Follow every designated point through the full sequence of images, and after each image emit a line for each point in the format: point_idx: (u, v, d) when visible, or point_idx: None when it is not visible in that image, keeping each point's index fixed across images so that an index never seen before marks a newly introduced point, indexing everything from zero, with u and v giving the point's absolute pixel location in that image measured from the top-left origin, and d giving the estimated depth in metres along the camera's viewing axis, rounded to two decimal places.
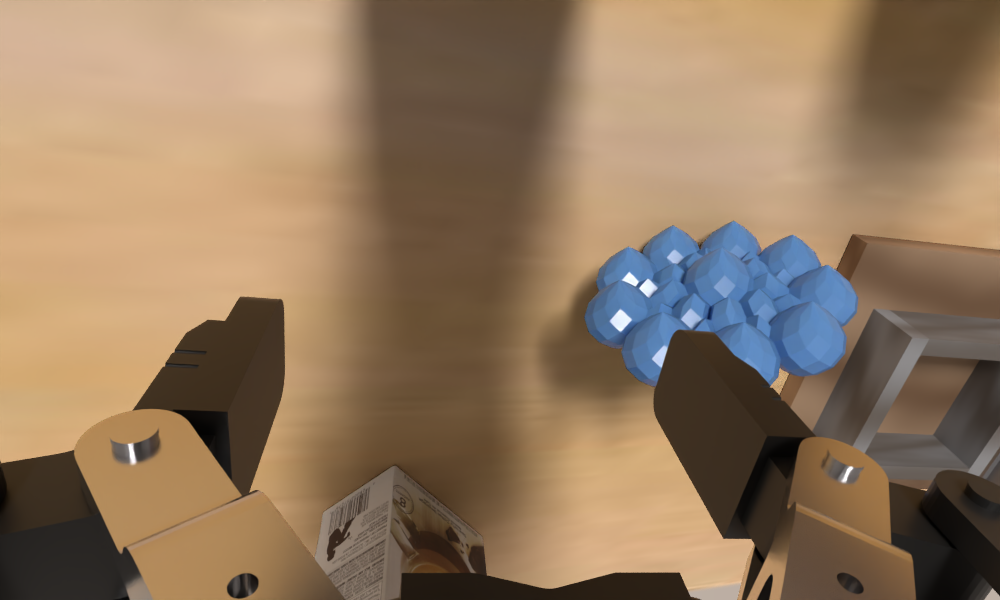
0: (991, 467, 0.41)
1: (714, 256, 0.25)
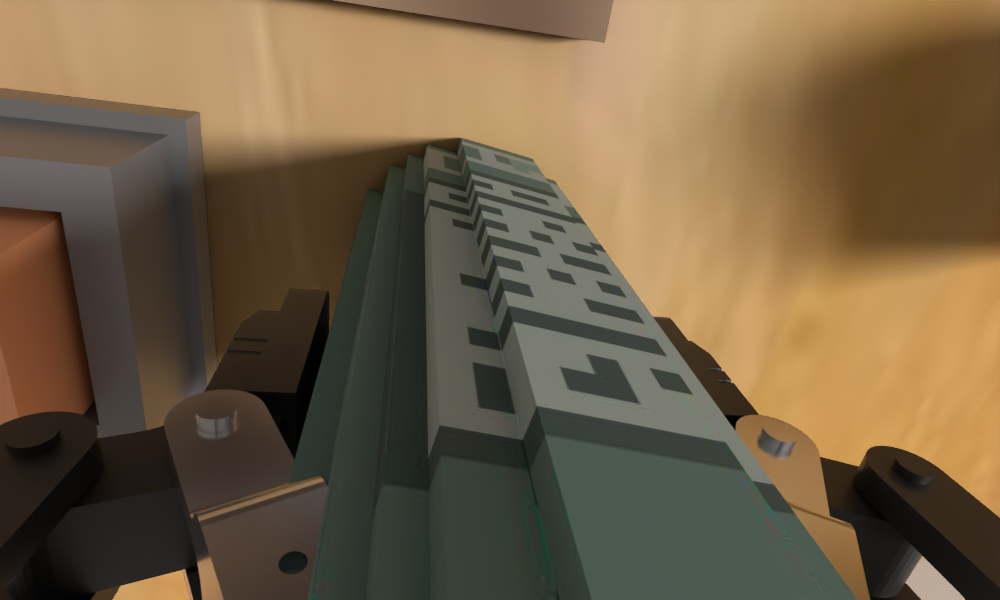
0: None
1: None
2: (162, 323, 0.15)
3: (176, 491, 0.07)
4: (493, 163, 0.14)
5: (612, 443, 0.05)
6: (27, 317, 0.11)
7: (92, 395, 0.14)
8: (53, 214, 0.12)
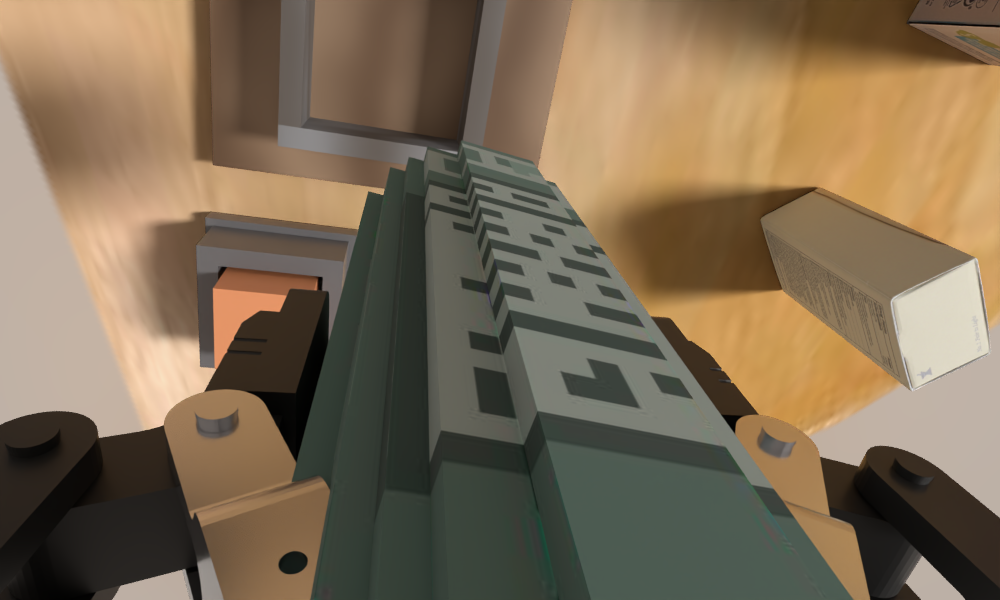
0: (252, 226, 0.33)
1: None
2: None
3: (176, 491, 0.07)
4: (493, 165, 0.14)
5: (613, 448, 0.05)
6: None
7: None
8: (314, 276, 0.32)
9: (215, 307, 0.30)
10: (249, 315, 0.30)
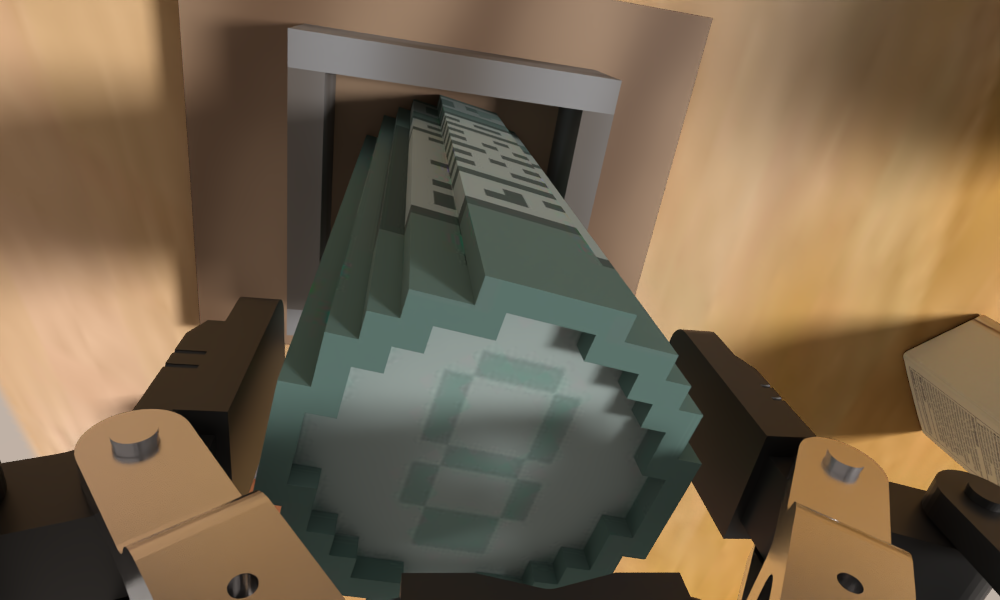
0: None
1: None
2: None
3: (84, 521, 0.07)
4: (463, 110, 0.19)
5: (506, 213, 0.10)
6: None
7: None
8: None
9: None
10: None
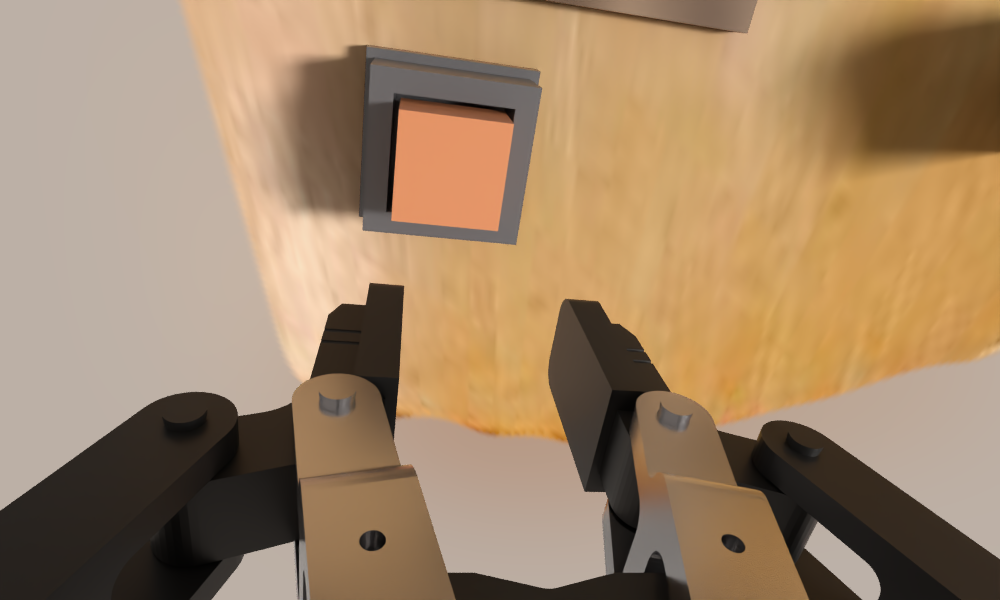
0: (420, 58, 0.27)
1: None
2: None
3: None
4: None
5: None
6: None
7: None
8: (502, 112, 0.27)
9: (399, 136, 0.24)
10: (438, 147, 0.24)
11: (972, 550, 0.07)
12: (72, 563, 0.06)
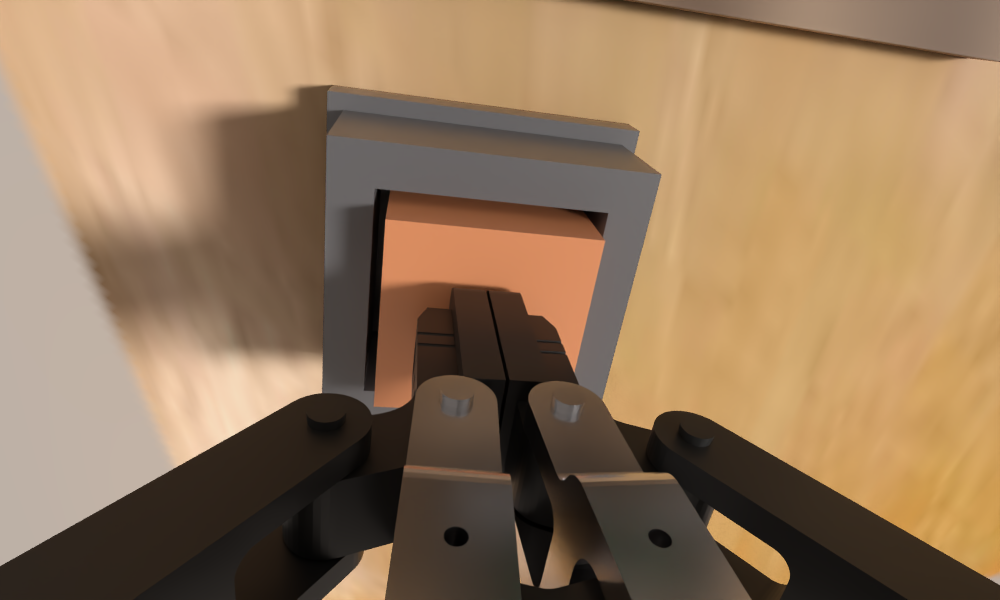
0: (427, 111, 0.15)
1: None
2: None
3: None
4: None
5: None
6: None
7: None
8: None
9: (387, 267, 0.12)
10: (462, 285, 0.13)
11: (860, 515, 0.08)
12: (207, 538, 0.06)
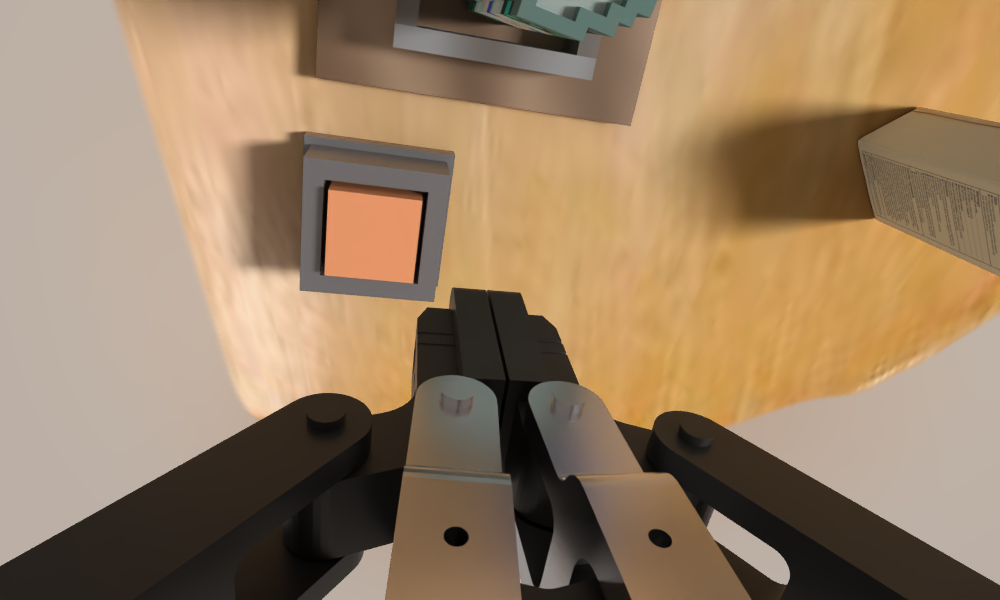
0: (351, 145, 0.32)
1: None
2: None
3: None
4: None
5: None
6: None
7: None
8: None
9: (329, 210, 0.30)
10: (361, 219, 0.30)
11: (860, 515, 0.08)
12: (206, 538, 0.06)
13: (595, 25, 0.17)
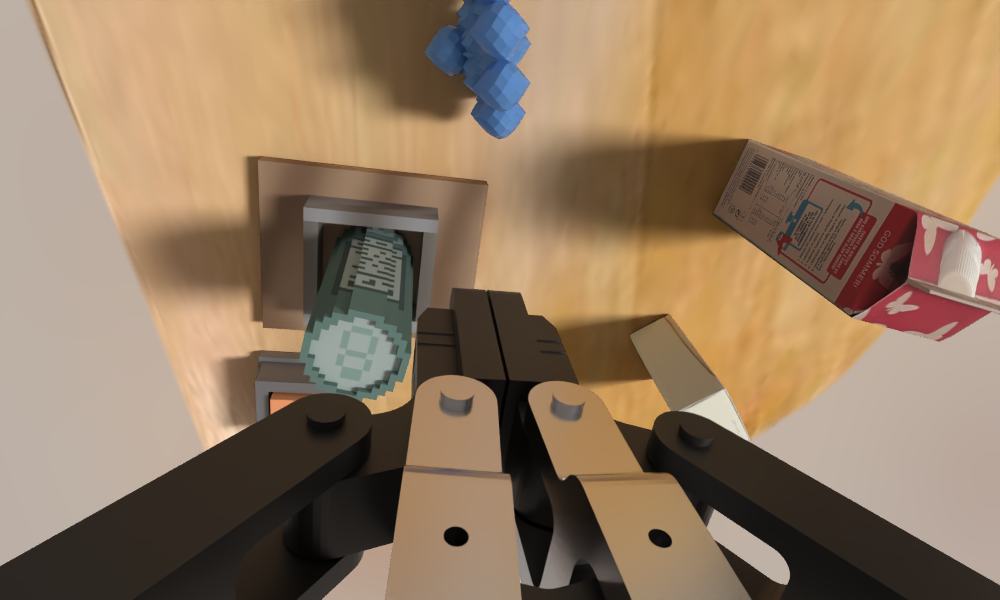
0: (288, 360, 0.52)
1: (526, 37, 0.38)
2: None
3: None
4: (376, 231, 0.45)
5: (365, 289, 0.36)
6: None
7: None
8: None
9: (271, 409, 0.49)
10: None
11: (860, 515, 0.08)
12: (205, 538, 0.06)
13: (366, 396, 0.36)
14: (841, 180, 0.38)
